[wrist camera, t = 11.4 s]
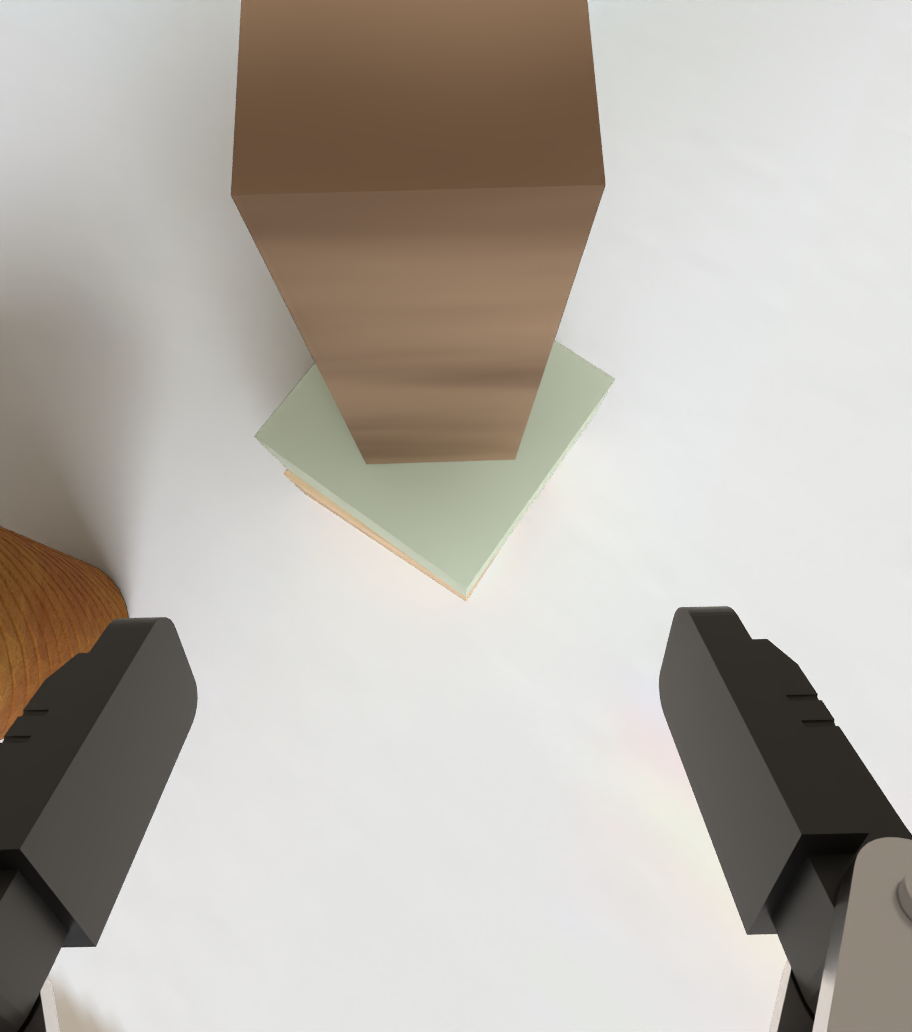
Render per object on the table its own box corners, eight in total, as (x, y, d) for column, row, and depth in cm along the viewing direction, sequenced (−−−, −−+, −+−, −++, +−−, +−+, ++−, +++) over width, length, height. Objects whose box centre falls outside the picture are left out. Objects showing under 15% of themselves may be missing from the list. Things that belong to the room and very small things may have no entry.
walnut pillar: (366, 328, 19) (246, -91, 8) (507, 324, 19) (577, -101, 8) (366, 464, 18) (230, 195, 7) (515, 459, 18) (605, 185, 7)
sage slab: (417, 306, 23) (409, 247, 19) (591, 419, 22) (615, 378, 18) (286, 468, 22) (254, 436, 18) (465, 597, 21) (466, 588, 17)
